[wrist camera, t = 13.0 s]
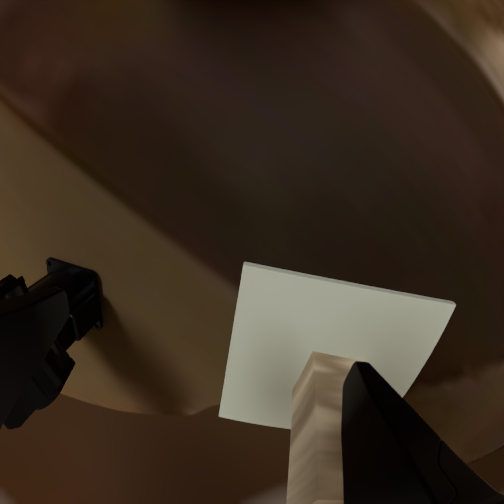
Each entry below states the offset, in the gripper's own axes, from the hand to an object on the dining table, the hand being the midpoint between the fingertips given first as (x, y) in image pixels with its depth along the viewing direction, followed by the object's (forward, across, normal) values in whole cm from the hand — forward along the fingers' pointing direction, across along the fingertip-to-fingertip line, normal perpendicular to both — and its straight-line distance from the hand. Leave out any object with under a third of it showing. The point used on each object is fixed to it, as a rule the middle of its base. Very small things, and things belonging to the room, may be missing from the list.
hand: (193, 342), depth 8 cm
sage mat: (+13, -9, +12) cm, 20 cm away
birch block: (+12, -9, +12) cm, 19 cm away
